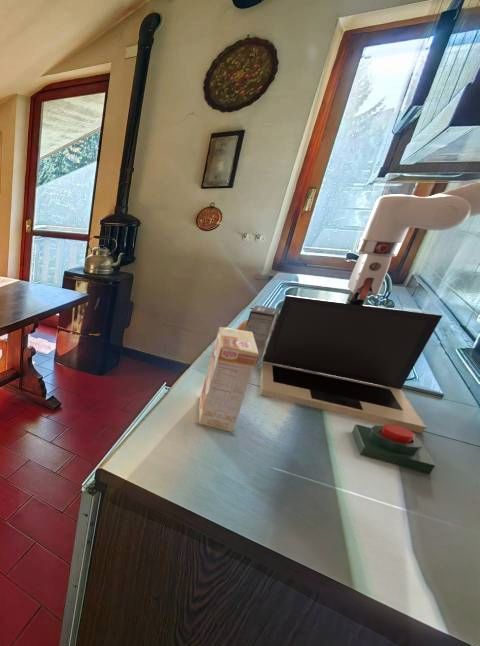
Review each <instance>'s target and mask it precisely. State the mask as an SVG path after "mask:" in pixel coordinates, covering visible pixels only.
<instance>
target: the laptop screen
mask: <svg viewBox="0 0 480 646" xmlns="http://www.w3.org/2000/svg"><path fill="white" fill-rule="evenodd" d="M280 309H281V310H280V313H279V316H278V318H277V321H276V324H275V327H274V330H273V333H272V335H271V338H270V341H269V343H268V345H267V348H266V351H265V354H264V356H263V358H262V362H267V363H272V364H276V365H281V366H286V367H291V368H296V369H301V370H306V371H311V372H316V373H321V374H326V375H331V376H336V377H340V378H345V379H350V380H355V381H360V382H365V383H370V384H375V385H380V386H385V387H390V388H395V389H400V390H402V388H403V387H404V385H405V383H406V381H407V380H408V378H409V376H410V375H411V372H413V369H414V367H415V366H416V364H417V362H418V360H419V358H420V357H421V355H422V353H423V351H424V349H425V348H426V346H427V344H428V342H429V341H430V339H431V337H432V336H433V334H434V332H435V330H436V328H437V327H438V325H439V323H440V321H441V319H442V318H443V315H442V314H439V313H431V312H423V311H416V310H407V309H400V308H399V309H398V308H391V307H385V306H384V307H383V306H374V305H367V304H363V305H360V304H352V303H346V302H343V301H335V300H327V299H320V298H312V297H304V296H303V297H302V296H297V295H284V299H283V301H282V305H281V307H280Z"/></svg>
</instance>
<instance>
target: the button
mask: <svg viewBox="0 0 480 646" xmlns="http://www.w3.org/2000/svg"><path fill="white" fill-rule="evenodd" d="M383 426H384V427H383V429H382V431H381V434H382V435H383V436H385V437H387V438H389V439H392V440H394V441H397V442H401V443H411V441H412V440H413V438H414V436H415V435H416V434H415V432H414V431H410V430H408V429H405V428H403V427H400V426H396V425H390V424H387V425H385V424H383ZM415 437H416V436H415Z"/></svg>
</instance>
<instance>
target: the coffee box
mask: <svg viewBox="0 0 480 646" xmlns="http://www.w3.org/2000/svg"><path fill="white" fill-rule="evenodd" d="M280 309H281V308H276V307H270V306H263V305H254V307H253V308H252V309H251V310H250V312H249V315H248V318H247V320H248V321H247V324H246V328H245V331H249V332H252V333H253V336H254V339H255V343H256V346H257V350H258V354H259V355H258V357H257V360H256V363H255V365H259V364H260V363H261V361H263V358H264V355H265V352H266V350H267V347H268V344H269V343H268V342H269V339H270V336H271V333H272V330H273V327H274V324H275V321H276V318H277V315H278V313H279V310H280Z"/></svg>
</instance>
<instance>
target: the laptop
mask: <svg viewBox="0 0 480 646" xmlns="http://www.w3.org/2000/svg"><path fill="white" fill-rule="evenodd" d="M259 388H260V389H259V390H260V391H259V392H260V396H264V397H268V398H273V399H277V400H281V401H284V402H288V403H293V404H298V405H302V406H306V407H310V408H314V409H318V410H323V411H326V412H330V413H334V414H339V415H343V416H348V417H351V418H356V419H359V420H364V421H367V422H373V423H375V424H376V423H377V424H380V425H387V424H390V425H396V426H400V427H403V428H405V429H408V430H410V431H411V432H413V433H419V434H424V432H425V430H426V428H427V426H426V425H425V423H424V422H423V419H421V417H420V416H419V414H418V413H417V411H416V410H415V408H414V406H412V404H411V402H410V400H409V399H408V398H407V396H406V395H405V394H404V392H403V391H402V389H396V388H391V387H387V386H382V385H377V384H372V383H367V382H362V381H357V380H352V379H347V378H342V377H337V376H332V375H327V374H322V373H317V372H313V371H308V370H303V369H298V368H293V367H288V366H283V365H278V364H273V363H268V362H263V361H262V362H261V365H260V386H259Z"/></svg>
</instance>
